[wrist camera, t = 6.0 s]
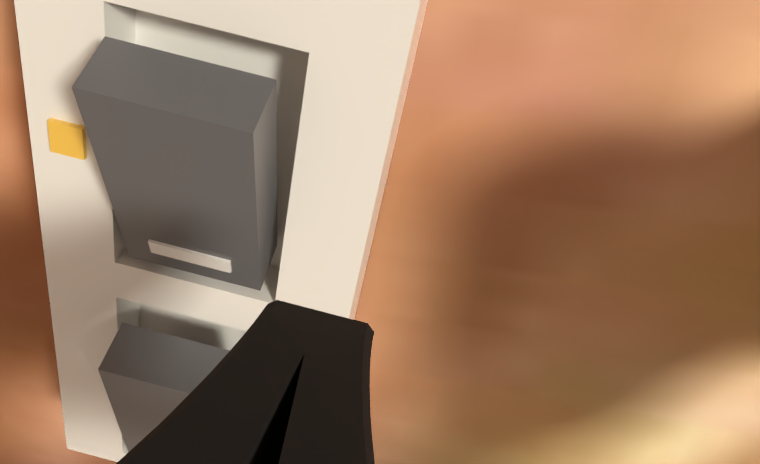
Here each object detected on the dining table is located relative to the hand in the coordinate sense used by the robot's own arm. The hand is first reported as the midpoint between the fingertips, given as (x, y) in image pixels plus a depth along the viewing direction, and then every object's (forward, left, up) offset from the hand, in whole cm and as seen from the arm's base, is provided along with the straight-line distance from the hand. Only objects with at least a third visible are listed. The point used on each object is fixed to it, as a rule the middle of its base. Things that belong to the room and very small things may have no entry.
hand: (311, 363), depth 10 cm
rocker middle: (+4, +2, -6) cm, 8 cm away
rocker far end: (+4, +10, -6) cm, 12 cm away
